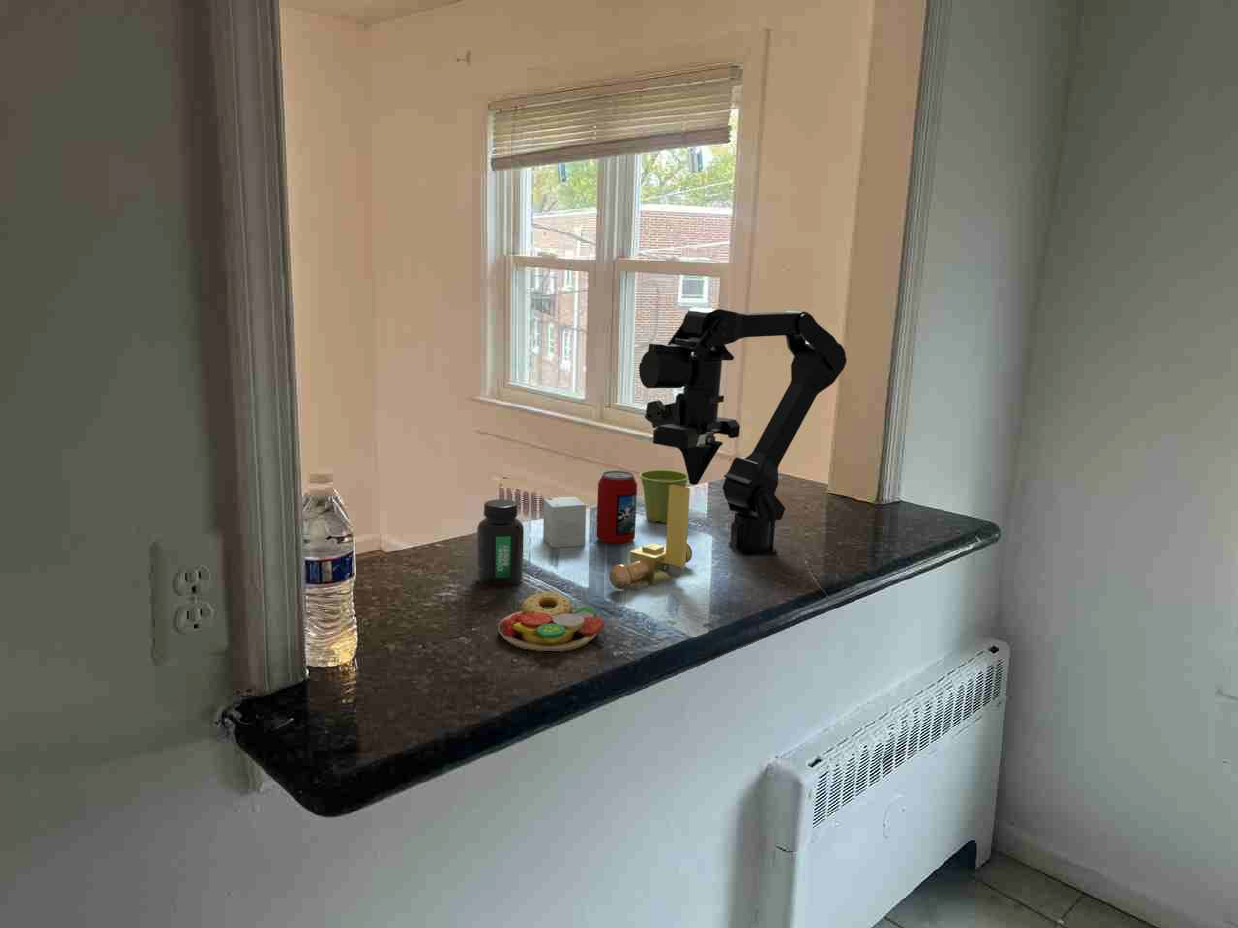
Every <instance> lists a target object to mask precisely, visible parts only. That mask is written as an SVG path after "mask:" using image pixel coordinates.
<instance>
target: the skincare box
mask: <svg viewBox="0 0 1238 928" xmlns="http://www.w3.org/2000/svg"><path fill="white" fill-rule="evenodd" d="M586 521H587V505H586V504H585V503H584V502H583V501H582V500H581V499H579V497H577V496H563V497H549V498H547V497H546V498H543V525H542V526H543V527H542V528H543V530H542V531H543V534H542V539H543V540H544V541H545V542H546V543H547V544H548V545H549V546H550V547H551V548H552V549H560V548H574V547H585V546H586V538H587V537H586V531H587V530H586V529H587V527H586V525H587V522H586Z"/></svg>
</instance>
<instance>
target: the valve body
mask: <svg viewBox="0 0 1238 928" xmlns="http://www.w3.org/2000/svg"><path fill="white" fill-rule="evenodd" d="M692 557H693V550H692V548H691V546H690V544H688V543H687V547H686V564H687V563H689V562H690V561H691V560H692ZM665 558H666V546H662V545H659V544H656V543H655V544H654V543H650V544H646V545H644V546H641V547H638V548H636V549H633V550H630V551H629V563H628V564H619V563H618V564H616V565H614V566H612V567H611V568H610V570H609V582H610V583H611V584H612V586H614V588H616V589H618V590H624V589H629V590H632V591H633V590H634V591H637V592H639V591H641V590H644V589H646V588H648V586H653V587H654V586H657V585H658V584H661V583H664V582H666V581H669V580H671V579H673V577H670V576H668V567H669V565H670V564H668V563H665ZM684 572H686V565H685V566H683V567H682V573H684Z"/></svg>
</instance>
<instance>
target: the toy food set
mask: <svg viewBox="0 0 1238 928" xmlns="http://www.w3.org/2000/svg"><path fill="white" fill-rule="evenodd" d="M596 611H597V610H595V609H594V608H592V607H582V608H578V609H576V610H574V609H573V607H572V604H571V602H570V600H569V599H568V598H567V597H566V596H564V595H562V594H559V593H556V592H548V591H547V592H546V591H545V592H544V591H543V592H538V593H534V594H532V595H530V596H528V597H527V598H526V599H525V600H524V602H523V604H522V610H520V611H517V612H513V613H512V614H509V615H508V616H506V617H503V619H501V621H500V622H499V624H498V632H499V634H500V636H501V637H502V638H503V639H504V640H506V642H508V643H509V642H510V643H509V644H511V645H512V644H513V645H512V646H514V645H515V647H516V646H517V647H516V648H519V647H520V648H519V649H522V648H523V649H522V650H526V649H531V650H538V651H560V652H565V650H567V651H572V650H575V649H578V648H581V647H583V646H585V645H586V644H588V643H589V642H590V641H592V640H593V639H594V638H595V637H596V636H597V634H598V633H599V632H601V630H603V628H604V626H605V622H604V620H603V619H602V618H601V617H598V616H597V612H596ZM571 649H572V650H571ZM531 650H530V651H531ZM538 651H537V652H538Z"/></svg>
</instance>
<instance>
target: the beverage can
mask: <svg viewBox="0 0 1238 928" xmlns="http://www.w3.org/2000/svg"><path fill="white" fill-rule="evenodd" d="M601 475H602V476H601V477H600V478H599V480H598V483H597V501H596V502H597V503H596V505H597V506H596V507H597V508H596V539H598V541H600V542H601V543H603V544H605V545H608V546H626V545H628V544H629V543H631V542H632V541H633V540H635V537H636V525H637V524H636V523H637V522H636V521H637V520H636V519H637V518H636V517H637V500H638V499H637V497H638V483H637V481H636V479H635V476H634V474H633V473H632V472H630V471H623V470H608V471H604V472H603V473H602V474H601Z"/></svg>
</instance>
